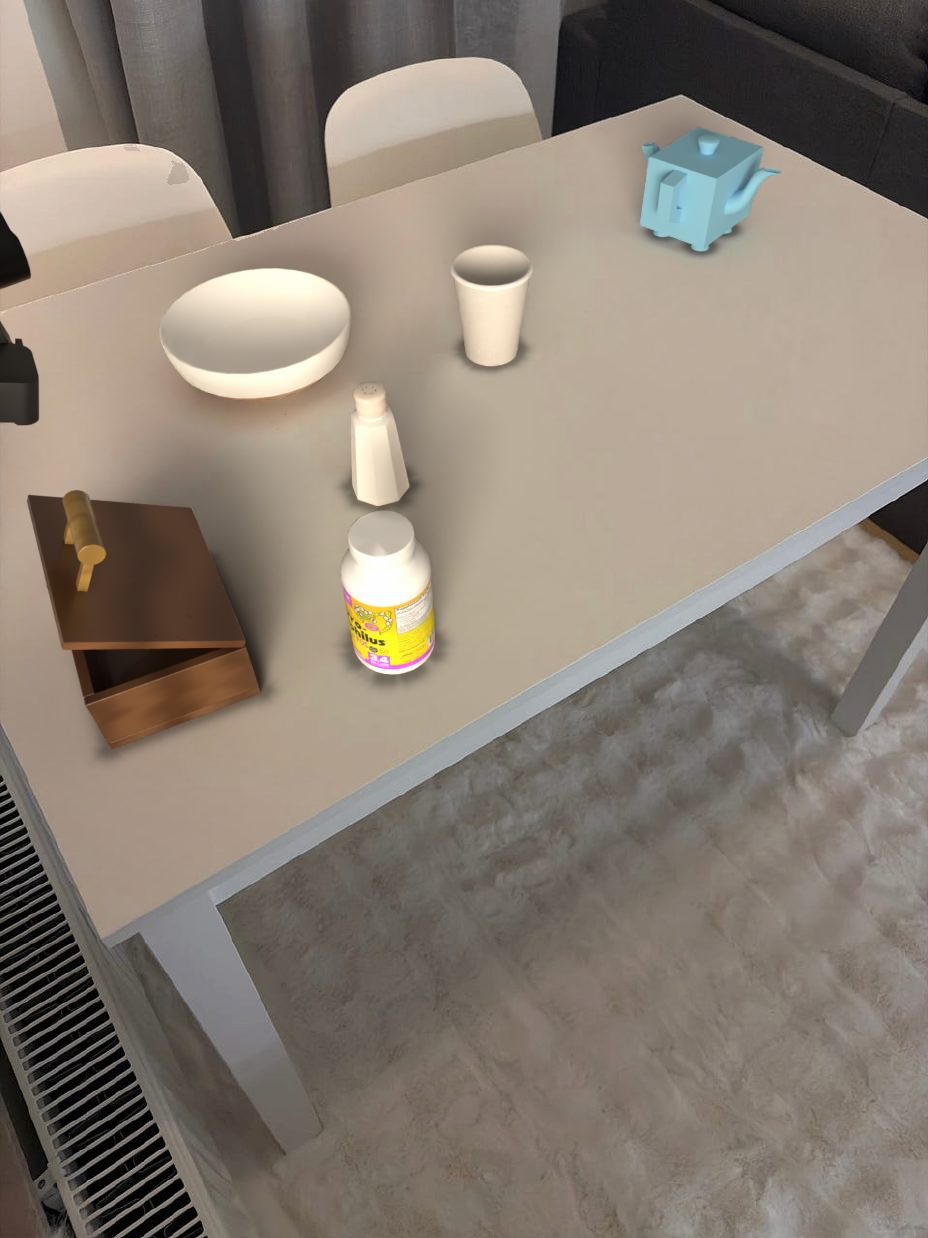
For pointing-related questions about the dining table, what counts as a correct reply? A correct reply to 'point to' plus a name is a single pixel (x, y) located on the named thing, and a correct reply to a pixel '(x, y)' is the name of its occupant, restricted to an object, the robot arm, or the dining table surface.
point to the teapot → (700, 186)
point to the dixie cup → (491, 300)
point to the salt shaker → (376, 448)
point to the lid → (130, 575)
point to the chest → (160, 687)
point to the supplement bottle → (388, 593)
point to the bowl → (257, 333)
